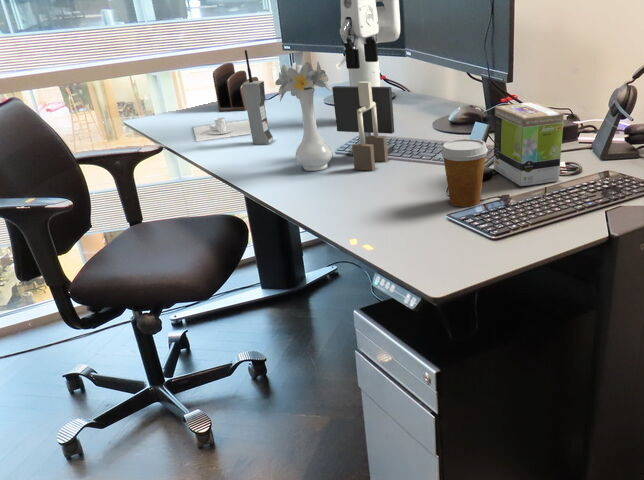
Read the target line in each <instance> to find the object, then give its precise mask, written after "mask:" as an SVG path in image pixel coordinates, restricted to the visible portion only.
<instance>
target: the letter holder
mask: <svg viewBox="0 0 644 480" xmlns="http://www.w3.org/2000/svg"><path fill="white" fill-rule="evenodd" d="M247 75H248V74H247V72H246V70H238V71H236V70H235V65H234V63H233V62H226V63H223V64H221V65H220V66H218V67H216V68H215V69H214V70H213V71H212V78H213V84H214V91H215V97H216V101H217V106H218V111H219V112H235V111H236V112H237V111H247V107H246V102H245V96H244V90H243V84H244V83H246V82H248V81H249V78H248V76H247ZM252 80H253V81H260V80H259V78H258V77H257V76H252Z"/></svg>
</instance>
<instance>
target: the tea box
mask: <svg viewBox="0 0 644 480" xmlns="http://www.w3.org/2000/svg"><path fill="white" fill-rule="evenodd" d="M564 116H565V114H564V112H562V111H560V110H556V109H553V108H550V107H547V106H546V105H542V104H540V103H536V102H534V101H529V102H521V103H514V104H513V103H512V104H505V105H498V106H497V105H496V106H494V132H493V135H494V136H493V170H494V171H495V172H497V173H498V174H500V175H502V176H503V177H505V178H507V179H508V180H510V181H511V182H513V183H514V184H516V185H518V186H519V187H526V186H535V185H540V184H547V183H553V182H558V181H559V180H560V172H561V156H562V143H563V130H564Z"/></svg>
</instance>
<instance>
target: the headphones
mask: <svg viewBox="0 0 644 480" xmlns="http://www.w3.org/2000/svg"><path fill="white" fill-rule="evenodd" d="M358 91H359V102H360V106H364V107H362V108H360V109H358V110H357V117H358V128H359V132H358V137H359V143H354V144H352V145H351V149H352V150H353V155H352V157H353V158H352V159H353V168H354V169H353V170H356V171H369V172H371V171H374V170H376V163H375V162H384V163H385V162H387V161H388V160H389V153H387V145H388V141H387V136H386V135H379V133H378V126H377V113H376V103H375V102H373V101H372V89H371V81H360V82H358ZM369 109H371V111H372V123H373V133H372V134H371V135H369V136H367V137H366V144H365V139H364V128H363V117H362V113H364V112H365V111H367V110H369Z"/></svg>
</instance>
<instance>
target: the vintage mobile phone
mask: <svg viewBox="0 0 644 480" xmlns="http://www.w3.org/2000/svg"><path fill="white" fill-rule="evenodd" d="M244 56H245V62H246V68H247V75H248V76H247V77H248V79H249V81H248V82H246V83H244V84H243V90H244V96H245V102H246V107H247V109H246V112H247V118H248V120H249V124H250V129H251V134H250V135H251V140H252V144H253V145H270V144H271V143H273V142H274V137H273V135H272V133H271V132H270V129H269V124H268V117H267V112H266V106H265V102H266V91H265V81H264V80H259V81H253V80H252V77H253V76H252V75H253V74H252V71H251V67H250V61H249V56H248V50H247V49H245V50H244Z"/></svg>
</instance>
